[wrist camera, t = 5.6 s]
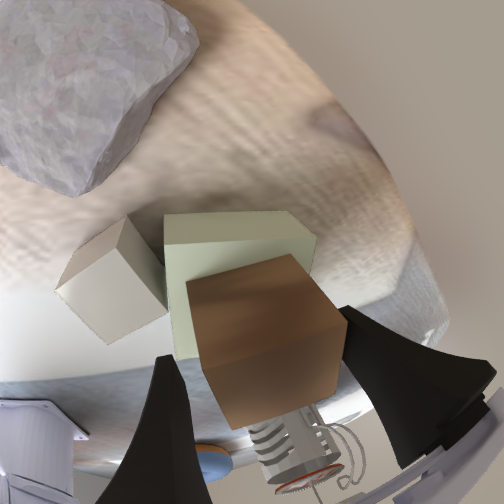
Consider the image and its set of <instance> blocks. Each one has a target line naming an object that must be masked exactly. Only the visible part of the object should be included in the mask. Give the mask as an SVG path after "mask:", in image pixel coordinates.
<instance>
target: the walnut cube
mask: <svg viewBox="0 0 504 504" xmlns="http://www.w3.org/2000/svg"><path fill="white" fill-rule="evenodd" d="M185 283H186V289H187V295H188V301H189V306H190V312H191V318H192V323H193V328H194V333H195V338H196V343H197V348H198V353H199V358H200V362H201V367H202V371H203V373H204V375H205V377H206V379H207V382H208V384H209V386H210V388H211V390H212V392H213V394H214V396H215V398H216V400H217V402H218V404H219V406H220V408H221V410H222V412H223V414H224V416H225V418H226V420H227V422H228V424H229V426H230V428H231V429H232V430H235V429H239V428H242V427H246V426H249V425H253V424H256V423H259V422H263V421H266V420H269V419H272V418H275V417H278V416H281V415H284V414H286V413H289V412H292V411H295V410H297V409H300V408H303V407H305V406H308V405H310V404H313V403H315V402H318V401H320V400H322V399H325V398H327V397H330V396H332V395H334V394H335V392H336V387H337V382H338V377H339V372H340V367H341V361H342V355H343V350H344V343H345V337H346V330H347V323H348V321H347V320H346V319H345V318H344V317H343V315H342V314H341V313H340V312H339V310H338V309H337V308H336V307H335V306H334V304H333V303H332V302H331V301H330V300H329V298H328V297H327V296H326V295H325V294H324V292H323V291H322V290H321V289H320V288H319V286H318V285H317V284H316V283H315V282H314V280H313V279H312V278H311V277H310V276H309V274H308V273H307V272H306V271H305V270H304V268H303V267H302V266H301V265H300V264H299V263H298V261H297V260H296V259H295V258H294V257H293V256H292V254H291V253H290V254H287V255H283V256H279V257H276V258H272V259H269V260H265V261H261V262H258V263H254V264H250V265H247V266H243V267H239V268H236V269H232V270H228V271H224V272H221V273H217V274H213V275H210V276H206V277H202V278H198V279H195V280H191V281H187V282H185Z"/></svg>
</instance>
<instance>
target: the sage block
mask: <svg viewBox="0 0 504 504" xmlns="http://www.w3.org/2000/svg"><path fill="white" fill-rule="evenodd" d="M316 241H317V237H316V236H315V235H314V234H313V233H312V232H311V231H310V230H309V229H307V228H306V227H305V226H304V225H303V224H302V223H300V222H299V221H298V220H297V219H296V218H295V217H294V216H292V215H291V214H290V213H289V212H288V211H236V212H204V213H180V214H164V254H165V267H166V279H167V289H168V299H169V308H170V316H171V324H172V332H173V339H174V346H175V353H176V359H177V360H178V359H188V358H198V357H199V353H198V348H197V343H196V338H195V333H194V328H193V323H192V318H191V312H190V306H189V301H188V295H187V289H186V283H185V282H187V281H191V280H195V279H198V278H202V277H206V276H210V275H213V274H217V273H221V272H224V271H228V270H232V269H236V268H239V267H243V266H247V265H250V264H254V263H258V262H261V261H265V260H269V259H272V258H276V257H279V256H283V255H287V254H290V253H291V254H292V256H293V257H294V258H295V259H296V260H297V261H298V263H299V264H300V265H301V266H302V267H303V268H304V270H305V271H306V272H307V273H308V274H309V275H310V271H311V266H312V261H313V256H314V251H315V246H316Z"/></svg>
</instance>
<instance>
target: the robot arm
mask: <svg viewBox="0 0 504 504" xmlns="http://www.w3.org/2000/svg"><path fill="white" fill-rule="evenodd" d="M338 310H339V312H340V313H341V314H342V315H343V317H344V318H345V319H346V320H347V321H348V323H347V330H346V337H345V343H344V350H343V355H342V360H343V361H344V363H345V364H346V365H347V367H348V368H349V370H350V371H351V373H352V374H353V375H354V377H355V378H356V380H357V381H358V382H359V384H360V385H361V387H362V388H363V390H364V391H365V392H366V394H367V395H368V397H369V399H370V400H371V402H372V404H373V406H374V408H375V410H376V412H377V413H378V416H379V417H380V420H381V422H382V424H383V426H384V428H385V430H386V433H387V435H388V437H389V440H390V442H391V445H392V447H393V450H394V453H395V456H396V459H397V462H398V464H399V466H400V468H401V469H402V470H403V469H404V468H406V467H407V466H409V465H410V464H412V463H413V462H414V461H416V460H417V459H419V458H420V457H422V456H423V455H424V454H425V455H426V457H424V458H423V459H422V460H420V461H419V462H417V463H416V464H415V465H413V466H412V467H410V468H409V469H407V470H406V471H404V472H403V473H401V474H400V475H398V476H396V477H395V478H393V479H392V480H390V481H388V482H386V483H385V484H383V485H381V486H380V487H378V488H376V489H374V490H372V491H371V492H369V493H367V494H365V495H363V496H361V497H359V498H357V499H355V500H353V501H351V502H349V503H347V504H375V503H377V502H379V501H381V500H383V499H384V498H386V497H388V496H389V495H391V494H392V493H394V492H396V491H397V490H399V489H401V488H402V487H404V486H405V485H407V484H408V483H410V482H411V481H413V480H414V479H416V478H417V477H419V476H420V475H421V474H422V477H421V480H420V481H418V482H417V483H415V484H413V485H412V486H410V487H408V488H407V489H405V490H404V491H402V492H401V493H400V494H398V495H397V496H395V497H394V498H393V499H392V500H393V501H394V503H395V504H458V503H459V502H460V501H461V500H462V499H463V498H464V497H465V496H466V495H467V494H468V492H469V491H470V490H471V489H472V488H473V487H474V486H475V484H476V483H477V482H478V481H479V480H480V478H481V477H482V476H483V475H484V473H485V472H486V471H487V470H488V468H489V467H490V466H491V464H492V463H493V461H494V460H495V459H496V457H497V456H498V455H499V453H500V452H501V450H502V449H503V447H504V390H503V388H502V387H500V388H499V389H498V390H497V391H496V392H495V394H494V395H493V396H492V397H491V398H490V399H489V400H488V401H487V403H485V402H484V401H483V399H484V398H485V396H484V394H483V393H482V392H483V391H484V390H485V388H486V387H487V386H488V385H489V383H490V382H491V381H492V380H493V378H494V377H495V375H496V373H497V371H496V370H495V369H494V368H493V367H492V366H491V365H490V363H489V362H488V361H486V360H480V359H471V358H464V357H459V356H455V355H451V354H446V353H443V352H440V351H437V350H434V349H431V348H428V347H426V346H423V345H421V344H418V343H416V342H413V341H411V340H409V339H407V338H405V337H403V336H401V335H399V334H397V333H395V332H393V331H391V330H390V329H388V328H386V327H384V326H382V325H381V324H379V323H377V322H376V321H374V320H372V319H371V318H369V317H367V316H366V315H364V314H362V313H361V312H359V311H357V310H356V309H354V308H352V307H351V306H349V305H347V306H345V307H342V308H339V309H338ZM88 439H89V436H88V435H87V434H86V433H85V432H83V431H82V430H81V429H80V428H79V427H78V426H76V425H75V424H74V423H73V422H72V421H71V420H70V419H69V418H68V417H67V416H66V415H65V414H63V413H62V412H61V411H60V410H59V409H58V408H57V407H56V406H55V405H54V404H53V403H52V402H51V401H19V400H0V474H1V475H0V504H80V500H78V499H75V498H74V492H73V444H74V440H88ZM95 504H213V503H212V501H211V498H210V496H209V493H208V490H207V487H206V484H205V480H204V477H203V474H202V471H201V467H200V464H199V460H198V457H197V452H196V447H195V440H194V433H193V426H192V418H191V410H190V403H189V399H188V394H187V390H186V385H185V382H184V380H183V378H182V376H181V373H180V371H179V369H178V367H177V365H176V363H175V360H174V358H173V356H172V354H170V355H165V356H160V357H157V358H156V361H155V366H154V371H153V376H152V380H151V384H150V388H149V392H148V395H147V399H146V402H145V406H144V409H143V412H142V415H141V418H140V421H139V424H138V426H137V429H136V432H135V434H134V437H133V439H132V441H131V444H130V446H129V448H128V450H127V452H126V454H125V457H124V458H123V460H122V462H121V464H120V466H119V468H118V469H117V471H116V473H115V475H114V476H113V478H112V480H111V481H110V483H109V484H108V486H107V487H106V489H105V490H104V492H103V493H102V495H101V496H100V497H99V499H98V500H97V501H96V503H95Z"/></svg>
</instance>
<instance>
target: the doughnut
mask: <svg viewBox="0 0 504 504" xmlns="http://www.w3.org/2000/svg"><path fill="white" fill-rule="evenodd" d="M195 447H196V452H197V457H198V460H199V464H200V467H201V471H202V474H203V477H204V480H205V483H209V482H213V481H216V480H219V479H221V478H223V477H225V476H227V475H228V474H229V473H230V472H231V470H232V468H233V462H232V459H231V456H230V454H229V453H228V452H227V451H226V450H224V449H223V448H221V447H218V446H214V445H206V444H195Z"/></svg>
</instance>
